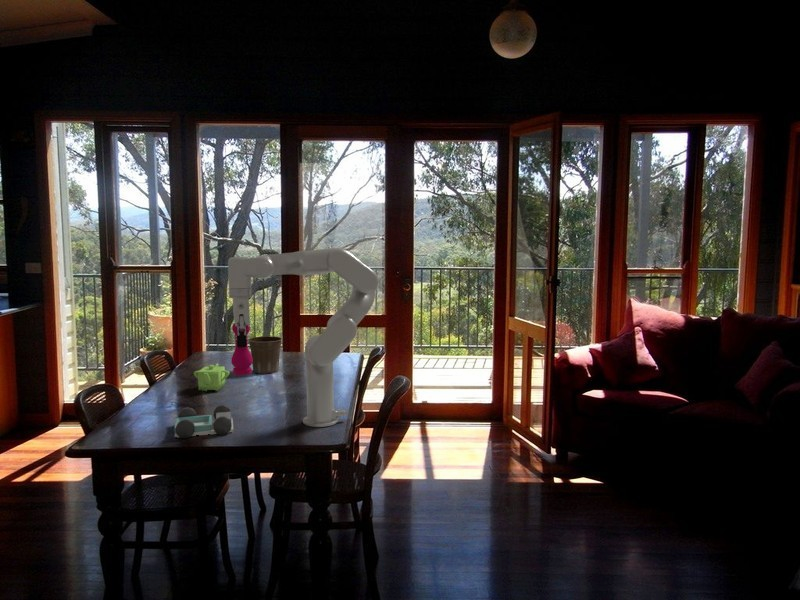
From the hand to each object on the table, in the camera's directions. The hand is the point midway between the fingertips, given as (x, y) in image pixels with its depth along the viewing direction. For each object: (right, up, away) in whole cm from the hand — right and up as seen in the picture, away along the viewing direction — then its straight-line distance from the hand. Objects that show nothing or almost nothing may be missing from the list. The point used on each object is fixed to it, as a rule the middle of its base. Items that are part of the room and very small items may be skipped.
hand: (241, 345), depth 217 cm
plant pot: (-11, -19, +90) cm, 93 cm away
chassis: (-13, -30, +2) cm, 33 cm away
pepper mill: (0, -10, +1) cm, 10 cm away
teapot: (-27, -24, +57) cm, 67 cm away
